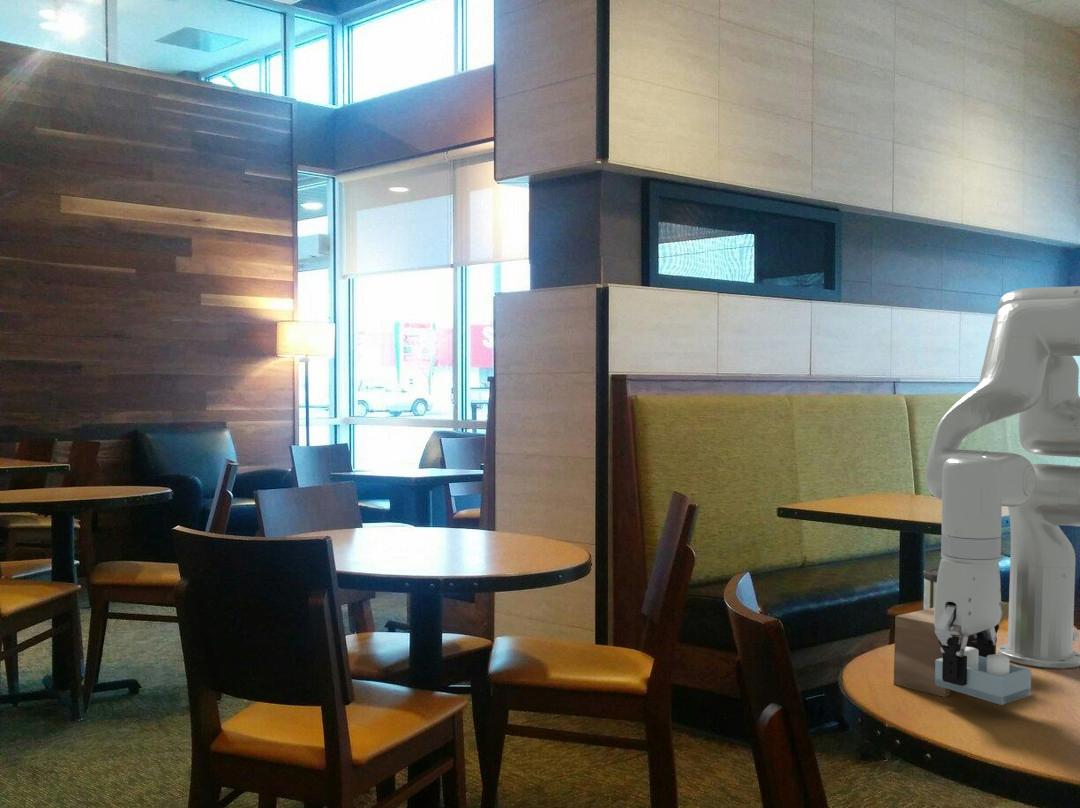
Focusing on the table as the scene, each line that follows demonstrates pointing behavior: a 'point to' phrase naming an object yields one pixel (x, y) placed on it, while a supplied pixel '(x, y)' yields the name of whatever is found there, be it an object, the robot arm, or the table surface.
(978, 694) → the tray
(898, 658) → the wooden footstool
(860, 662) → the table surface
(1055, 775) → the table surface
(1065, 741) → the table surface
